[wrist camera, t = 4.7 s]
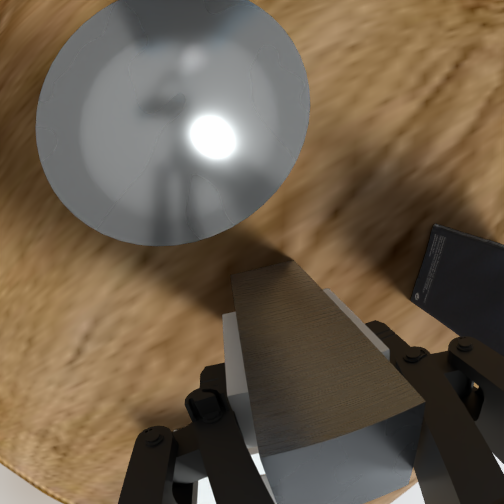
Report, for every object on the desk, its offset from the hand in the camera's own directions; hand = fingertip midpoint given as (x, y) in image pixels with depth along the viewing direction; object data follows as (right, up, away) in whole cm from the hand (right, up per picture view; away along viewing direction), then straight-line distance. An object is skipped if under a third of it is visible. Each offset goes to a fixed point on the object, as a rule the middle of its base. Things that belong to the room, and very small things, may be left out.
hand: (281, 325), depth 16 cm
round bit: (-4, +9, +2) cm, 10 cm away
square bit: (0, +1, +4) cm, 4 cm away
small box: (+16, +2, +6) cm, 17 cm away
